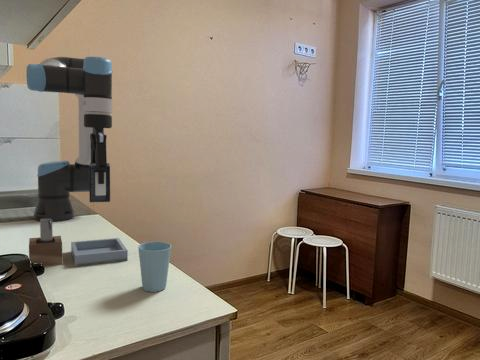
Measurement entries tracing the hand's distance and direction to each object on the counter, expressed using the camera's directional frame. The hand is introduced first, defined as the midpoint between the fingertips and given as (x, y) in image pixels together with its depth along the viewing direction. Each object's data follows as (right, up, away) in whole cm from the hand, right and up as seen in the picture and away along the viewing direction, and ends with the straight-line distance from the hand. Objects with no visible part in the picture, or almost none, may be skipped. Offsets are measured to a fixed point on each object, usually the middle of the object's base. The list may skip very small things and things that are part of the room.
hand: (98, 192), depth 112 cm
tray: (-1, -19, +2) cm, 19 cm away
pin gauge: (-13, -19, -4) cm, 23 cm away
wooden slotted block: (-13, -19, -4) cm, 24 cm away
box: (0, -2, 0) cm, 2 cm away
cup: (+21, -23, -19) cm, 36 cm away
